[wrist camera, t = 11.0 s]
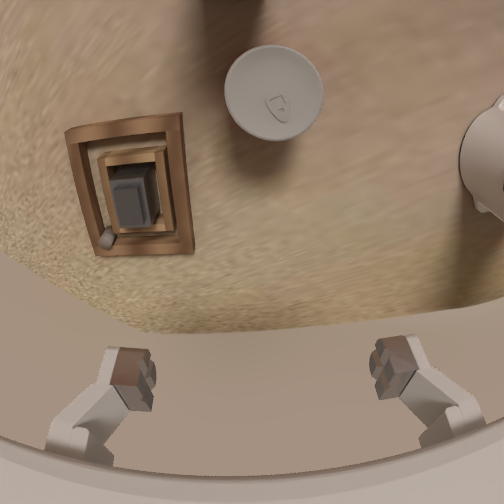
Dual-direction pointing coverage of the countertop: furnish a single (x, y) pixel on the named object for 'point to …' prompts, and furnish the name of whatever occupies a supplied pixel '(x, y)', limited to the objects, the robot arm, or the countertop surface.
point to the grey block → (135, 195)
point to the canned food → (273, 92)
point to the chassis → (165, 157)
